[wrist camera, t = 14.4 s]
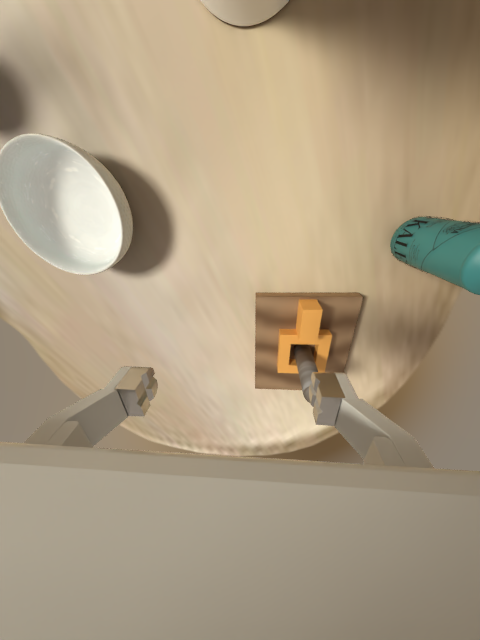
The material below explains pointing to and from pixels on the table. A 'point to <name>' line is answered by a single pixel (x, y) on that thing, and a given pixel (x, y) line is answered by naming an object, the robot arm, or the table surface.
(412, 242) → the beverage bottle
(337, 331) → the keeper board
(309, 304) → the loop fitting
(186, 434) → the table surface
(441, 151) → the table surface
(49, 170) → the cereal bowl
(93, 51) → the table surface
